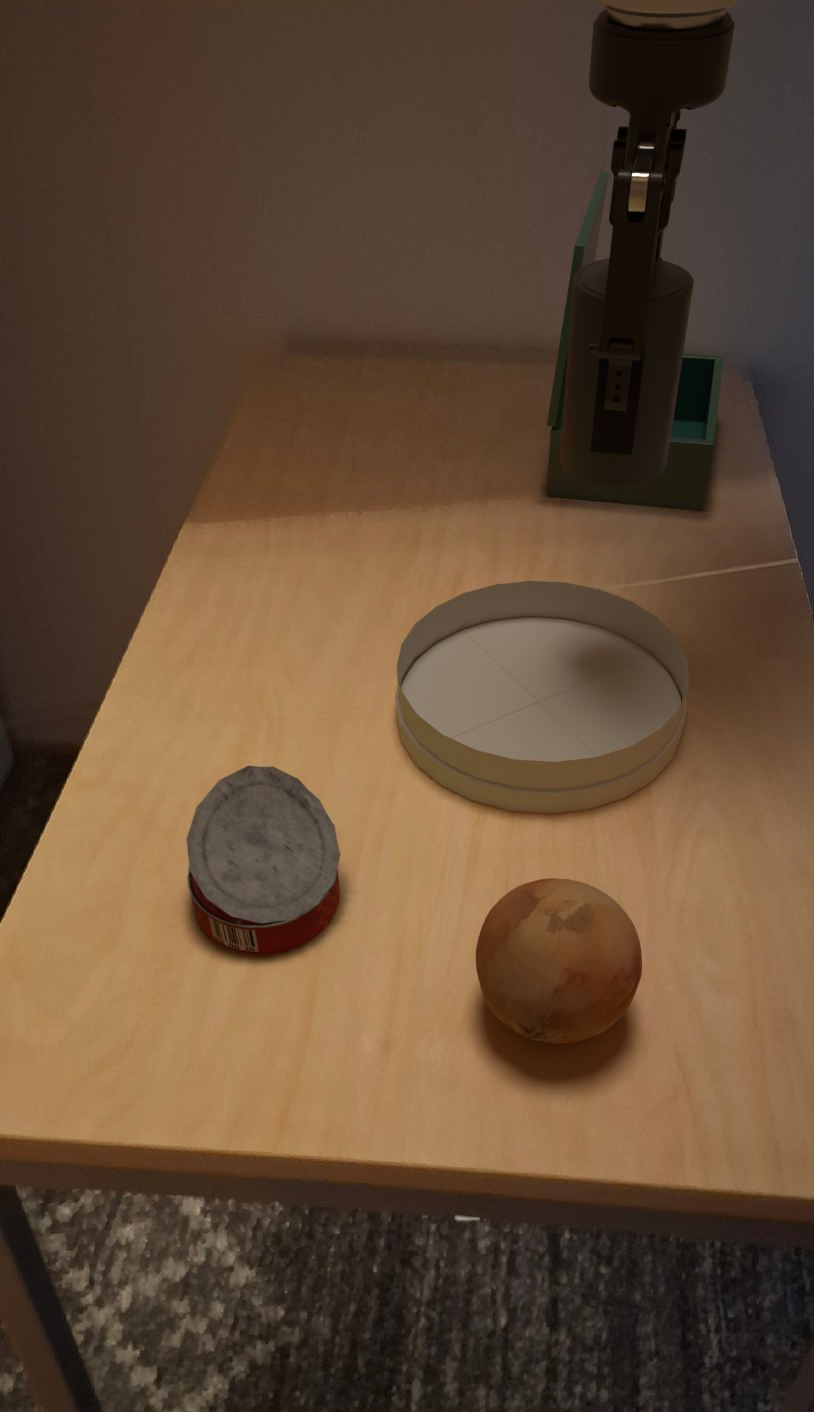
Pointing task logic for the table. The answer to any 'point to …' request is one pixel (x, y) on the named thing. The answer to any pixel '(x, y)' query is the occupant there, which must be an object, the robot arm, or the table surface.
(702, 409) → the green box
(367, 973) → the table surface
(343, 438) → the table surface
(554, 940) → the onion
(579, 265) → the lid
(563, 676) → the dish
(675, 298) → the gray cylinder
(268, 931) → the canned food
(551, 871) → the table surface
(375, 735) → the table surface
